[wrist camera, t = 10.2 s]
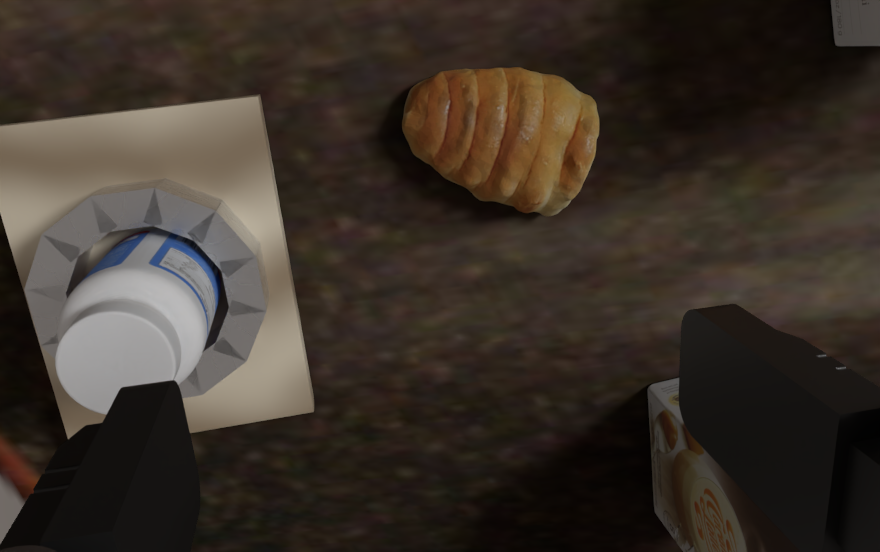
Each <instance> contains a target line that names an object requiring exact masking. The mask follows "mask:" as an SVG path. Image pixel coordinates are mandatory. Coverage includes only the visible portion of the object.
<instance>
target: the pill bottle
mask: <svg viewBox="0 0 880 552" xmlns="http://www.w3.org/2000/svg"><path fill="white" fill-rule="evenodd" d="M220 295H221V276H220V272H219V269H218V267H217V266H216V264H215V263H214V262H213V261H212V260H211V259H210V258H209V257H208V256H207V255H206V253H205V252H204V251H203V250H202V249H201V248H200V247H199V246H198V245H197V244H196V242H195V241H194V240H191V239H188V238H185V237H183V236H180V235H177V234H174V233H171V232H169V231H166V230H163V229H160V228H156V229H147V230H142V231H139V232H136V233H134V234H131V235H130V236H128V237H126V238H124V239H123V240H122V241H120V242H119V243H118V244H116V245H115V246H114V247H113V248H112V249H111V250H110V251H109V252H108V253H107V255H105V257H104V258H103V259H102V260H101V261H100V262H99V263H98V264H97V265H96V266H95V267H94V268H93V269H92V270H91V271H90V272H89V273H88V275H87V276H86V277H85V278H84V279H83V280H82V281H81V282H80V283H79V284H78V285H77V287H76V288H75V289H74V290H73V291H72V293H71V294H70V295H69V297H68V298H67V300H66V302H65V303H64V305H63V307H62V310H61V312H60V315H59V320H58V327H57V336H58V343H59V344H58V347H57V350H56V355H55V367H56V372H57V376H58V378H59V381H60V383H61V385H62V386H63V388H64V390H65V391H66V392H67V393H68V394H69V396H70V397H72V398H73V399H74V400H75V401H76V402H77V403H79V404H80V405H82V406H83V407H85V408H87V409H89V410H91V411H94V412H97V413H101V414H106V415H107V413H108V411H109V409H110V407H111V405H112V403H113V401H114V399H115V398H116V396H117V394H118V392H119V390H120V389H121V388H122V387H126V386H134V385H141V384H148V383H156V382H163V381H170V380H175V381H176V382H177V384H178V385H179V384H180V383H181V382H183V381H184V380H185V379H186V378H187V377H188V376H189V375H190V374H191V372H192V371H193V370H194V368H195V367H196V365H197V364H198V362H199V360H200V358H201V356H202V353H203V350H204V347H205V344H206V341H207V338H208V335H209V332H210V329H211V325H212V322H213V319H214V315H215V312H216V309H217V306H218V303H219V300H220Z"/></svg>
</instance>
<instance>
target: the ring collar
mask: <svg viewBox="0 0 880 552" xmlns="http://www.w3.org/2000/svg"><path fill="white" fill-rule="evenodd" d="M148 226H155V227H158V228H160V229H163V230H166V231H169V232H171V233H174V234H177V235H180V236H183V237H185V238H188V239H191V240H194V241H195V242H196V244H197V245H198V246H199V247H200V248H201V249H202V250H203V251H204V252H205V253H206V255H207V256H208V257H209V258H210V259H211V260H212V261H213V262H214V263H215V264H216V266H217V267H218V268H219V269H220V270H221V272H222V276H223V281H224V286H225V291H226V296H227V300H228V305H229V307H228V310H227V312H226V315H225V317H224V320H223V323H222V324H220V325H219V326H218V327H216V328H215V329H214V330H213V331H211V332H210V333H209V335H208V338H207V341H206V344H205V347H204V350H203V353H202V356H201V358H200V360H199V362H198V364H197V365H196V367H195V368H194V370H193V371H192V372H191V374H190V375H189V376H188V377H187V378H186V379H185V380H184V381H183V382H181V383H180V384H179V385H178V386H179V388H180V391H181V394H182V398H188V397H194V396H200V395H203V394H205V393H206V392H207V391H208V390H210V389H211V388H212V387H214V386H215V385H216V384H218V383H219V382H220V381H222V380H223V379H224V378H226V377H227V376H228V375H230V374H231V373H232V372H233V371H235V370H236V369H237V368H239V367H240V366H241V365H243V364H244V363H245V362H247V359H248V357H249V354H250V352H251V349H252V347H253V344H254V342H255V339H256V337H257V334H258V332H259V329H260V327H261V324H262V322H263V319H264V317H265V314H266V312H267V306H268V301H269V295H270V293H269V287H268V282H267V277H266V272H265V266H264V261H263V256H262V250H261V245H260V242H259V241H258V240H257V238H256V237H255V236H254V235H253V234H252V233H251V232H250V230H249V229H248V228H247V227H246V226H245V225H244V223H243V222H242V221H241V220H240V219H239V218H238V217H237V215H236V214H235V213H234V212H233V211H232V210H231V209H230V207H229V206H228V205H227V204H226V203H225V202H224V201H223V200H222V199H220V198H217V197H215V196H212V195H209V194H207V193H204V192H201V191H199V190H196V189H193V188H191V187H188V186H186V185H183V184H180V183H178V182H175V181H172V180H170V179H167V178H163V179H155V180H148V181H140V182H132V183H124V184H117V185H109V186H105V187H104V188H102V189H101V190H99V191H98V192H96V193H94V194H93V195H91V196H90V197H89V198H87V199H86V200H85V201H84V202H82V203H81V204H80V205H78V206H77V207H76V208H75V209H73V210H72V211H71V212H69V213H68V214H67V215H66V216H64V217H63V218H62V219H61V220H59V221H58V222H57V223H55V224H54V225H53V226H52V227H50V228H49V229H48V230H47V231H45V232H44V233H43V234H42V235H41V238H40V241H39V245H38V248H37V251H36V254H35V257H34V260H33V263H32V267H31V270H30V273H29V276H28V279H27V282H26V285H25V289H24V291H25V294H26V298H27V301H28V304H29V308H30V311H31V314H32V318H33V321H34V324H35V328H36V331H37V334H38V338H39V341H40V344H41V346H42V347H43V348H44V349H45V350H46V351H47V352H48V353H49V354H50V355H51V356H52V357H53V358H54V359H55V355H56V350H57V347H58V344H59V343H58V336H57V327H58V320H59V315H60V312H61V310H62V307H63V305H64V303H65V302H66V300H67V298H68V297H69V295H70V294H71V293H72V291H73V290H74V289H75V288H76V287H77V285H78V284H79V283H80V282H81V281H82V280H83V279H84V278H83V275H84V272H85V269H86V266H87V263H88V260H89V257H90V254H91V251H92V248H93V245H94V244H95V243H96V242H98V241H99V240H100V239H101V238H103V237H104V236H105V235H107V234H108V233H109V232H112V231H119V230H126V229H133V228H141V227H148Z"/></svg>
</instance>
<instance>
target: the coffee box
mask: <svg viewBox="0 0 880 552" xmlns="http://www.w3.org/2000/svg"><path fill="white" fill-rule="evenodd" d="M648 408H649V425H650V441H651V460H652V479H653V496H654V511H655V513H656V515H657V516H658V518H659V519H660V520H661V522H662V523H663V525H664V526H665V527H666V528H667V530H668V531H669V533H670V534H671V536H672V537H673V538H674V540H675V541H676V543H677V544H678V545H679V546H680V548H681V549H682V550H683V552H800V551H799V549H798V548H797V547H796V546H795V545H794V544H793V543H792V542H791V541H790V540H789V539H788V538H787V537H786V536H785V535H784V534H783V532H782V531H781V530H780V529H779V528H778V527H777V526H776V525H775V524H774V523H773V522H772V521H771V520H770V519H769V518H768V517H767V515H766V514H765V513H764V512H763V511H762V510H761V509H760V508H759V507H758V506H757V505H756V504H755V503H754V502H753V501H752V500H751V498H750V497H749V496H748V495H747V494H746V493H745V492H744V491H743V490H742V489H741V488H740V487H739V486H738V485H737V484H736V483H735V481H734V480H733V479H732V478H731V477H730V476H729V475H728V474H727V473H726V472H725V471H724V470H723V469H722V468H721V467H720V466H719V464H718V463H717V462H716V461H715V460H714V459H713V458H712V457H711V456H710V455H709V454H708V453H707V452H706V451H705V450H704V449H703V447H702V446H701V445H700V444H699V443H698V442H697V441H696V440H695V439H694V438H693V437H692V436H691V434H690V433H689V432H688V430H687V428H686V426H685V424H684V422H683V419H682V416H681V412H680V407H679V378H676V379H671V380H667V381H663V382H659V383H655V384H652V385H650V386H649V388H648Z"/></svg>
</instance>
